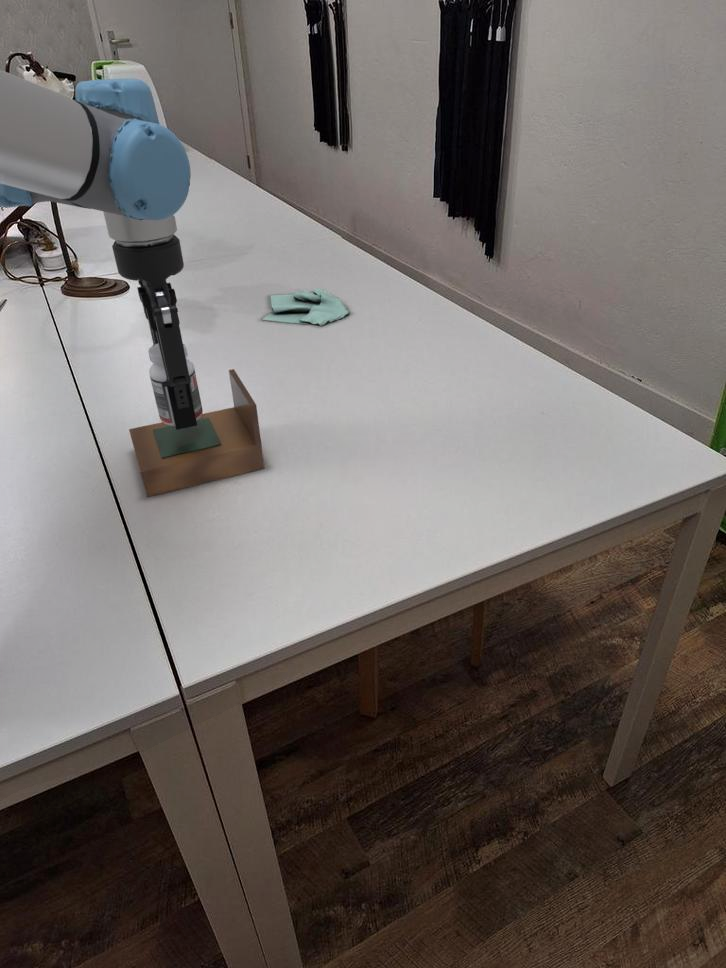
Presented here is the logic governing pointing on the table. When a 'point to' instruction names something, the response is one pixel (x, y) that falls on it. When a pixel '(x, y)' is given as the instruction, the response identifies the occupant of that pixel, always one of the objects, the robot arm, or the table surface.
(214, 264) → the table surface
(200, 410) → the pill bottle
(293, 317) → the cloth
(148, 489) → the shelf
